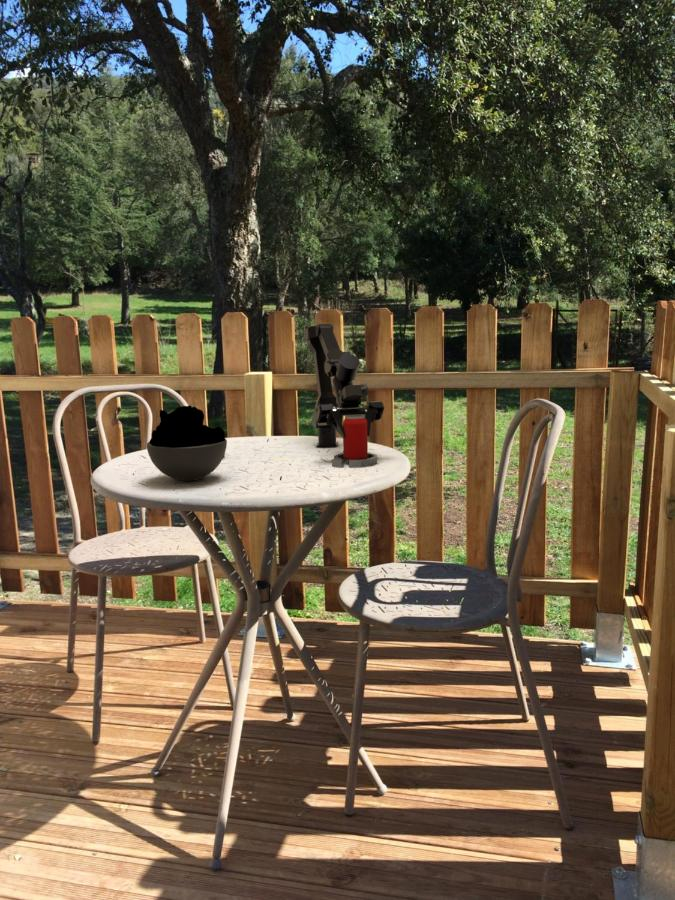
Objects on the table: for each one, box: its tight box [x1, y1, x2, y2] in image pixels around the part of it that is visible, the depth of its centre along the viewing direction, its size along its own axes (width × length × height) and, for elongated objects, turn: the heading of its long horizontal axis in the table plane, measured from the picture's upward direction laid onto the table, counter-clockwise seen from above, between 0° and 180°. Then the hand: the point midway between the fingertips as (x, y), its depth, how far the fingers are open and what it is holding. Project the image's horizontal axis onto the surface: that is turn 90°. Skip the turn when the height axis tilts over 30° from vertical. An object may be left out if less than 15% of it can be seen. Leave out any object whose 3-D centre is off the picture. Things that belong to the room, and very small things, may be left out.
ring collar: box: [331, 452, 378, 469], centre depth 211 cm, size 12×12×2 cm
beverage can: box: [342, 415, 369, 461], centre depth 210 cm, size 7×7×12 cm
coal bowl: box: [146, 405, 228, 482], centre depth 192 cm, size 20×20×19 cm
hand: (356, 436), depth 208 cm, fingers closed on beverage can, 7 cm apart
